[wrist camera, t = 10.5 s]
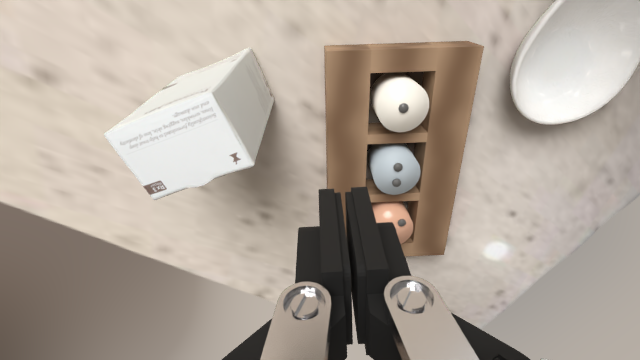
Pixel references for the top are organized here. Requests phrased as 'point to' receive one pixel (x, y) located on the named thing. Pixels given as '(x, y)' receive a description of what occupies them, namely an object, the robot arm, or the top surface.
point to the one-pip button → (399, 101)
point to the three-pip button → (394, 217)
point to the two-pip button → (393, 167)
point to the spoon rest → (575, 59)
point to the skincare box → (197, 127)
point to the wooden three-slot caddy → (429, 137)
